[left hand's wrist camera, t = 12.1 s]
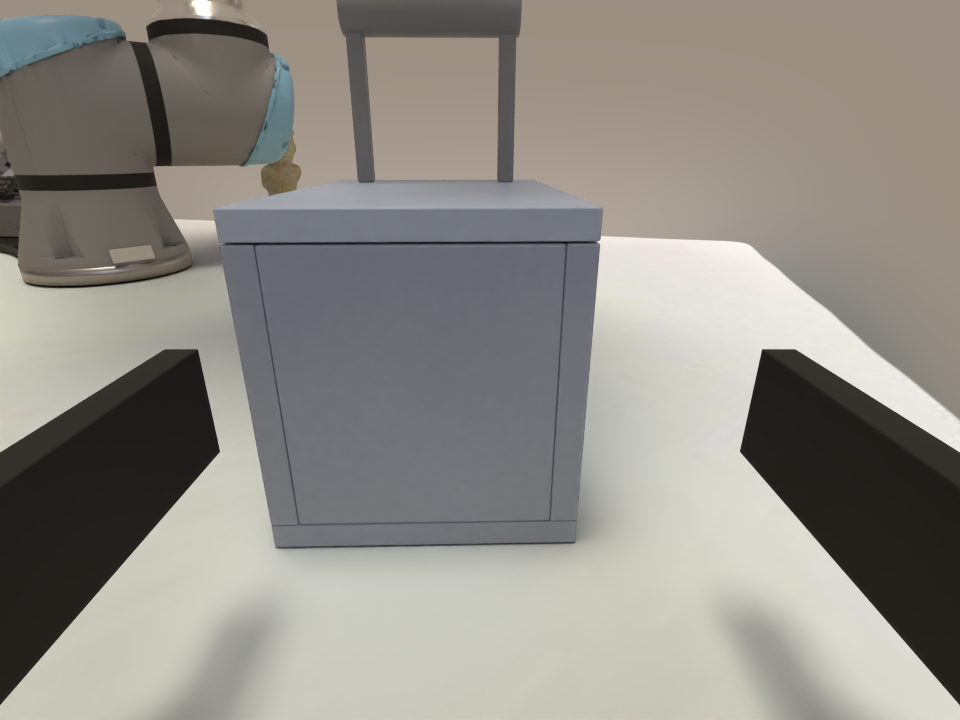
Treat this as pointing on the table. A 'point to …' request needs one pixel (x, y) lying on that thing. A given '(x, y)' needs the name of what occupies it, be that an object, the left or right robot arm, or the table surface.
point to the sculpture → (281, 173)
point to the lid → (419, 203)
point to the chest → (416, 387)
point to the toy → (8, 201)
